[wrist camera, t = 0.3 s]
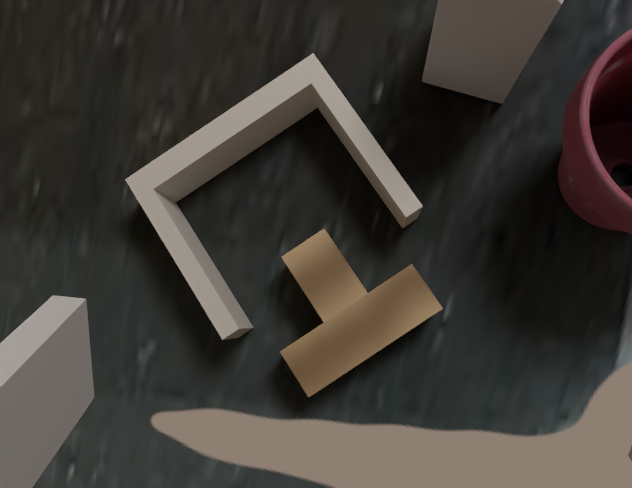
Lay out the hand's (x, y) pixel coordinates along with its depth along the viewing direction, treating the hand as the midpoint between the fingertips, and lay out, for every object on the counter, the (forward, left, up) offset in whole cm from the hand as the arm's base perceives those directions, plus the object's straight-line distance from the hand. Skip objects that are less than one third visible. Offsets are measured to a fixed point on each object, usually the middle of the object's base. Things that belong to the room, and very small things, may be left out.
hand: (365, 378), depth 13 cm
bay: (+13, 0, -32) cm, 35 cm away
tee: (+4, 0, -32) cm, 33 cm away
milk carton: (+15, -21, -33) cm, 41 cm away
